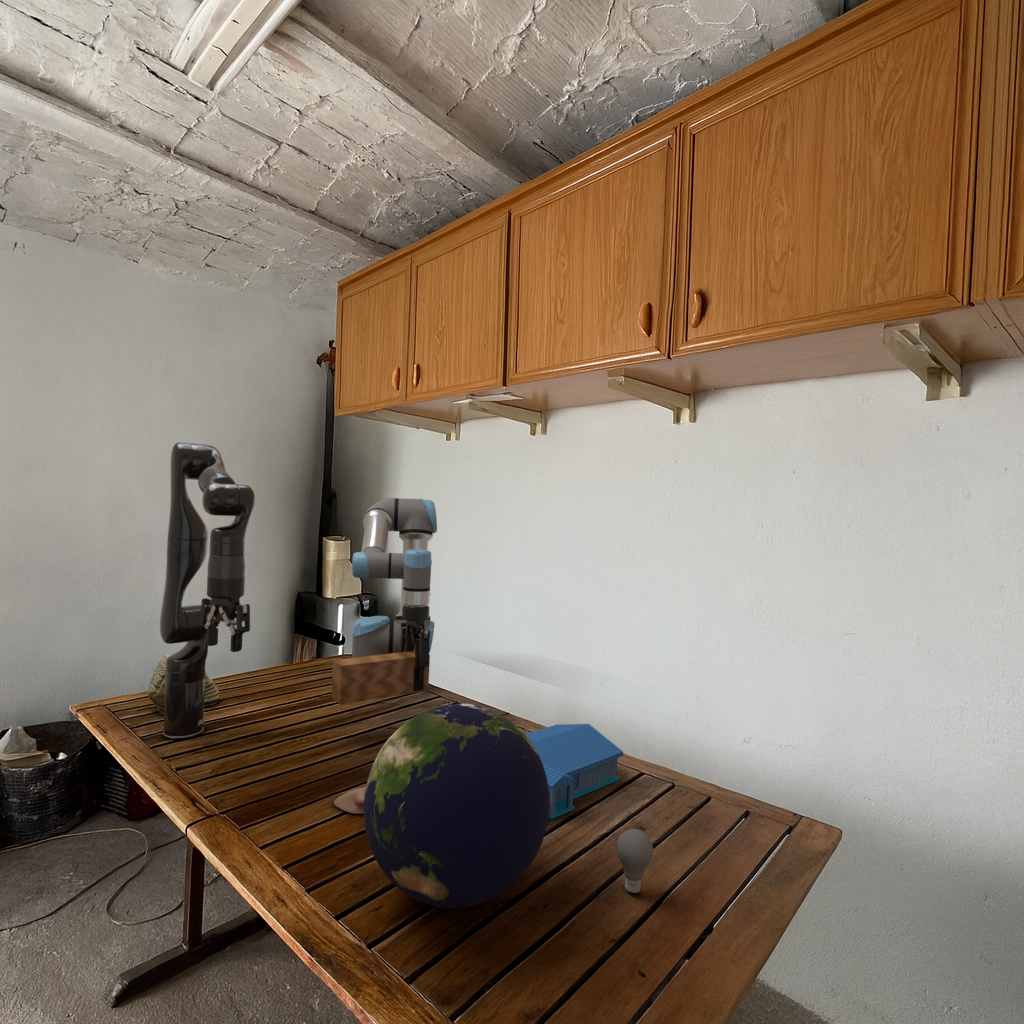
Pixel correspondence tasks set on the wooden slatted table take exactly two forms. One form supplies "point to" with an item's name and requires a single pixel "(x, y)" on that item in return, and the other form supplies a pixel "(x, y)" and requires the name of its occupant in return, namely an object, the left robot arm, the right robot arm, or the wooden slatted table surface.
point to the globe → (456, 806)
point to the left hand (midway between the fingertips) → (223, 648)
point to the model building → (574, 762)
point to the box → (375, 677)
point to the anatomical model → (352, 801)
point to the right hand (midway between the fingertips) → (412, 686)
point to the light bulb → (634, 857)
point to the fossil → (158, 687)
